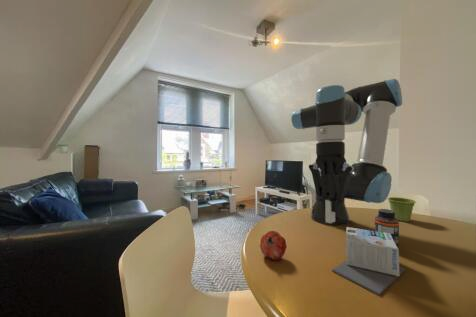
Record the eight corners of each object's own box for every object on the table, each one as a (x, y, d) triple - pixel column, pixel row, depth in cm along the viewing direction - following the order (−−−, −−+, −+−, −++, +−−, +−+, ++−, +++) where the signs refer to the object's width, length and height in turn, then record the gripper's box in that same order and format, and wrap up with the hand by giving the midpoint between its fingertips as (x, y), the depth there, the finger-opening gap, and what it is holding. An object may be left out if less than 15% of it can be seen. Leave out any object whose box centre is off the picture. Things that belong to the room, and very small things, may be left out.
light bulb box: (345, 226, 59) (390, 232, 53) (346, 248, 59) (390, 256, 53) (345, 239, 49) (400, 248, 44) (346, 265, 49) (400, 278, 44)
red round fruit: (264, 256, 60) (249, 246, 53) (274, 233, 62) (260, 222, 56) (285, 268, 54) (271, 259, 48) (295, 243, 57) (283, 231, 51)
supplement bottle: (376, 240, 65) (377, 206, 64) (399, 246, 60) (400, 210, 60) (372, 246, 60) (373, 210, 60) (397, 253, 56) (397, 214, 56)
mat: (332, 271, 48) (332, 269, 48) (360, 253, 56) (360, 251, 56) (379, 295, 40) (379, 293, 40) (404, 270, 48) (404, 268, 48)
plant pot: (422, 223, 80) (422, 202, 79) (398, 223, 80) (399, 202, 79) (402, 215, 89) (403, 197, 89) (382, 216, 89) (382, 197, 89)
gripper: (302, 142, 59) (303, 218, 60) (347, 139, 49) (347, 232, 49) (316, 142, 64) (317, 213, 64) (360, 140, 53) (360, 225, 54)
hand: (330, 221), depth 57 cm, fingers closed
